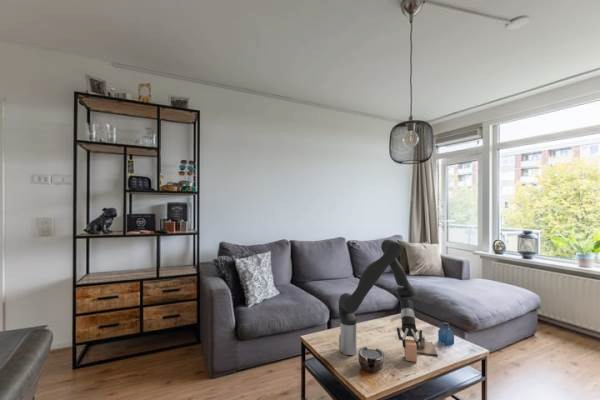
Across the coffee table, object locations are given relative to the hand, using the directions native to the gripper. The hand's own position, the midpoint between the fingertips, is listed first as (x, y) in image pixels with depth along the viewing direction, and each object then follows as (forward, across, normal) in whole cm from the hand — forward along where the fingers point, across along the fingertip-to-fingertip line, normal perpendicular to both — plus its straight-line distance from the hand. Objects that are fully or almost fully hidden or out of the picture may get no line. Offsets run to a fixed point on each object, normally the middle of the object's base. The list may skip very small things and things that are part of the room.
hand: (410, 348), depth 153 cm
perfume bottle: (-14, +24, +24) cm, 37 cm away
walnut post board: (-6, +8, +16) cm, 19 cm away
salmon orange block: (+3, 0, +6) cm, 7 cm away
